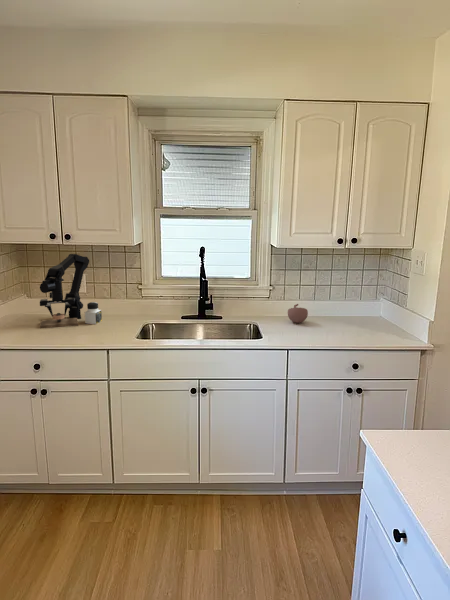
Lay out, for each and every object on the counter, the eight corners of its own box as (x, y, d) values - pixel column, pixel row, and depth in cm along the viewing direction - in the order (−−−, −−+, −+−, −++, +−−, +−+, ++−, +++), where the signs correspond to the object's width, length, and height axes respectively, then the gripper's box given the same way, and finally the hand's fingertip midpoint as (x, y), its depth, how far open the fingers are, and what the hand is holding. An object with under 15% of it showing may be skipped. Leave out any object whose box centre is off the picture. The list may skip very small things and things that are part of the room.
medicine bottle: (96, 324, 239) (95, 304, 237) (85, 323, 240) (83, 303, 238) (102, 321, 246) (101, 301, 244) (91, 320, 247) (89, 301, 245)
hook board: (77, 320, 247) (76, 309, 246) (77, 325, 237) (77, 314, 235) (41, 322, 241) (40, 312, 239) (39, 328, 230) (39, 317, 228)
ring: (64, 316, 242) (64, 313, 241) (64, 319, 236) (64, 315, 236) (53, 317, 240) (52, 313, 239) (52, 319, 234) (52, 316, 233)
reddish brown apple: (305, 320, 254) (306, 302, 252) (308, 325, 242) (309, 306, 240) (286, 319, 254) (286, 302, 252) (288, 325, 243) (289, 306, 240)
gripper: (73, 286, 245) (75, 311, 248) (39, 288, 238) (42, 314, 242) (74, 289, 235) (75, 316, 238) (38, 291, 228) (40, 318, 232)
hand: (58, 316), depth 238 cm, fingers closed on ring, 6 cm apart
